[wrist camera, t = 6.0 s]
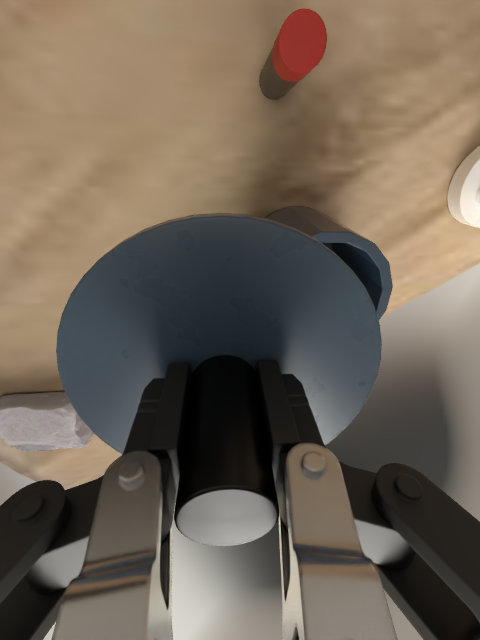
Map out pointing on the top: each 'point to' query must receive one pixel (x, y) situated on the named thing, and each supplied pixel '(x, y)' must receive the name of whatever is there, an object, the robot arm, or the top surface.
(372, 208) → the top surface
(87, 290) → the pot lid
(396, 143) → the top surface
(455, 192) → the character figurine
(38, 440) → the stone block
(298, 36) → the marker
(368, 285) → the dark blue cylindrical container
